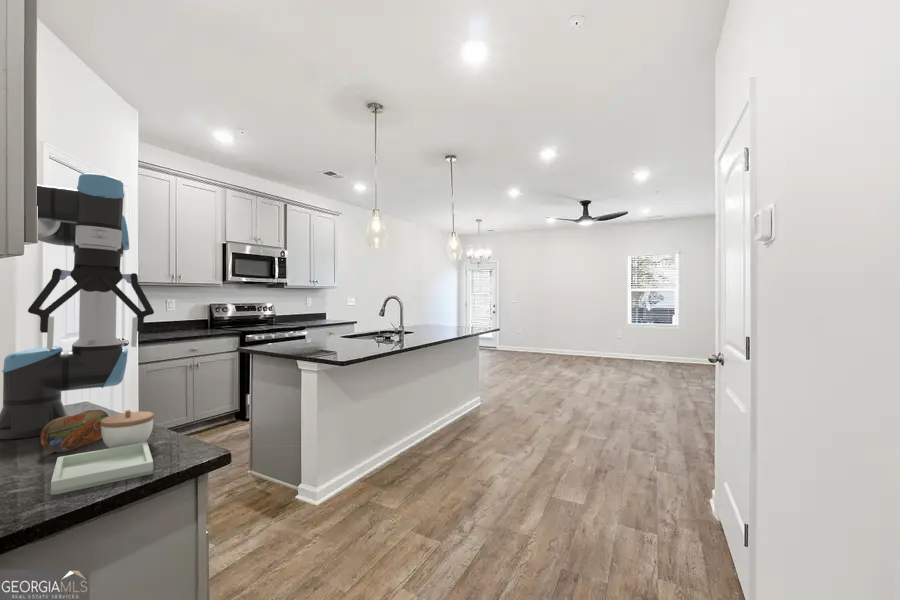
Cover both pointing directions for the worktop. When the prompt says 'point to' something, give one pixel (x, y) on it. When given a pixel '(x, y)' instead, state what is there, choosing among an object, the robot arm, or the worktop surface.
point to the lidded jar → (126, 428)
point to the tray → (101, 467)
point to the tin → (72, 431)
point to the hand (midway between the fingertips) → (93, 347)
